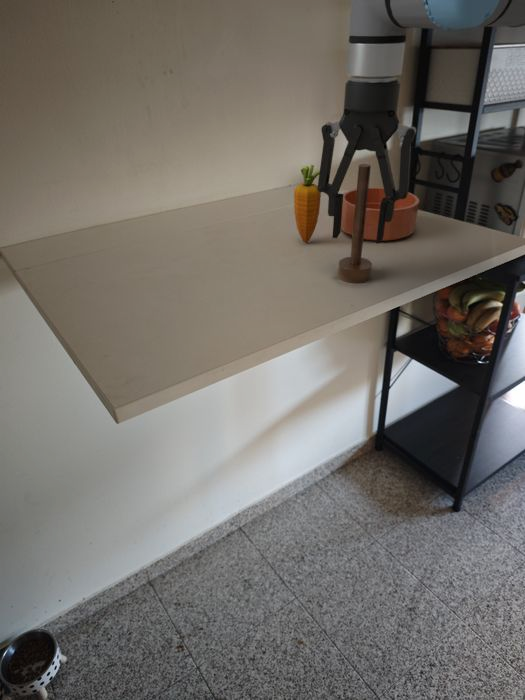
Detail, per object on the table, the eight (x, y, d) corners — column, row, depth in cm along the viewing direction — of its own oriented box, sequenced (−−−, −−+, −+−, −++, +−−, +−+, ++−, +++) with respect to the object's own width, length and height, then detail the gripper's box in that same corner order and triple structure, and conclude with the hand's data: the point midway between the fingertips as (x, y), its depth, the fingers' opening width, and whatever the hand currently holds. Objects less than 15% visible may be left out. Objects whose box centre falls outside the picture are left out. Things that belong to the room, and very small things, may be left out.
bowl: (417, 220, 108) (422, 190, 105) (409, 246, 96) (415, 213, 93) (347, 214, 113) (349, 184, 109) (331, 237, 101) (333, 206, 97)
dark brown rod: (373, 271, 87) (386, 162, 77) (367, 285, 83) (380, 171, 73) (341, 267, 89) (350, 159, 79) (334, 280, 84) (342, 168, 74)
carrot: (306, 236, 101) (308, 159, 93) (323, 243, 98) (328, 164, 90) (287, 242, 99) (289, 164, 91) (305, 249, 96) (308, 169, 87)
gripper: (447, 77, 69) (420, 236, 82) (312, 75, 75) (306, 224, 88) (444, 83, 63) (416, 253, 76) (298, 80, 69) (294, 239, 82)
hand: (357, 237), depth 82 cm, fingers open, 6 cm apart
